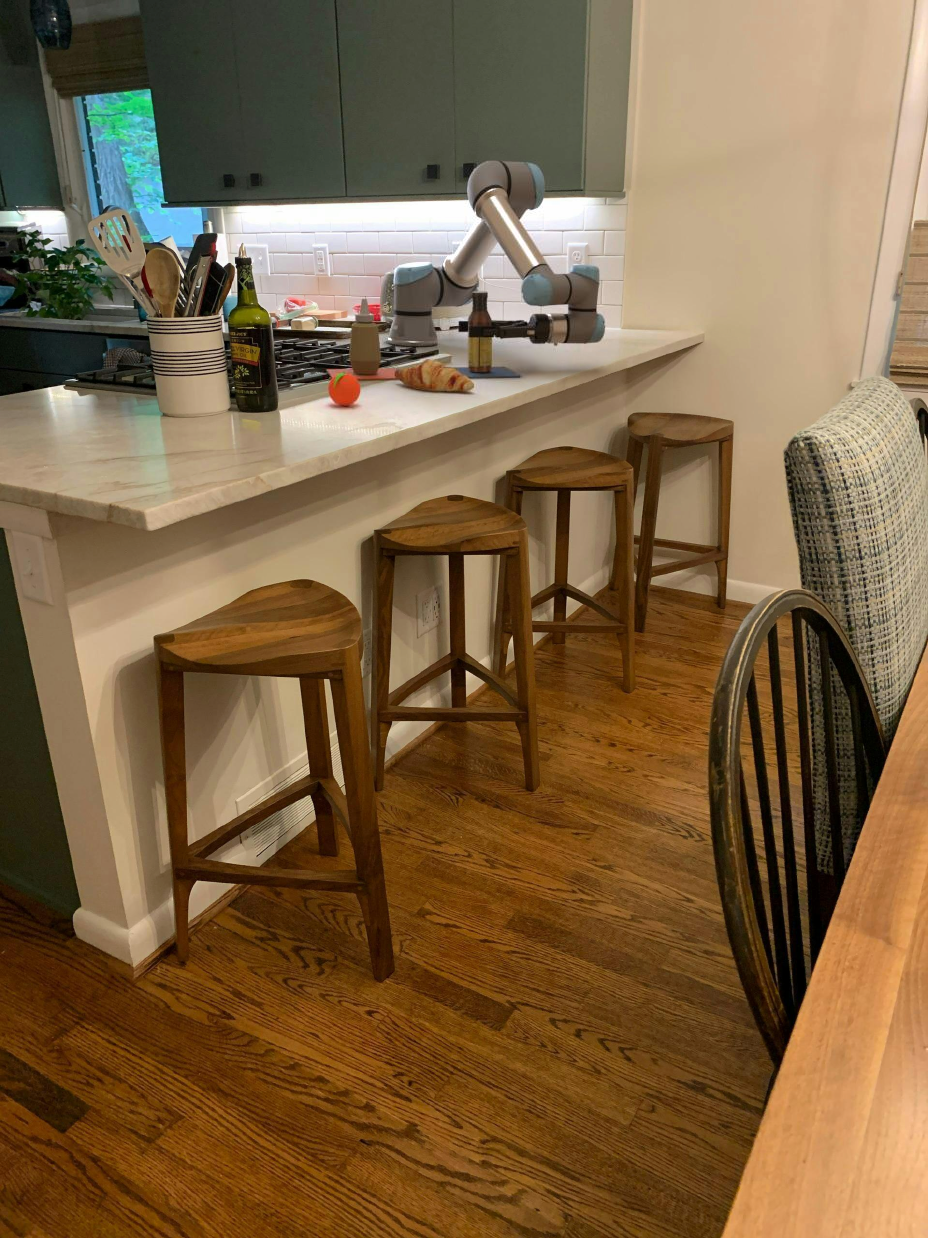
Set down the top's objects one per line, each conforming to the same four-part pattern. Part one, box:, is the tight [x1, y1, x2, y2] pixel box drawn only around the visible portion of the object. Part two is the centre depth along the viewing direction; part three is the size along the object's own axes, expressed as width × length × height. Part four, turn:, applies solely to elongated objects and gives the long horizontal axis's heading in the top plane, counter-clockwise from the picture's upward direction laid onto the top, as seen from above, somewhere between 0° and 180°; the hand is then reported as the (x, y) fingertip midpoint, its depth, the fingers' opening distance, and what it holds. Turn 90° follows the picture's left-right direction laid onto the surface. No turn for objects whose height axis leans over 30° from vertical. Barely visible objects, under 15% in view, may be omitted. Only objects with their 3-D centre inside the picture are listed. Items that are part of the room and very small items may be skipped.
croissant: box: [395, 358, 475, 392], centre depth 221 cm, size 21×10×8 cm, turn 66°
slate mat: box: [455, 366, 521, 379], centre depth 244 cm, size 14×18×1 cm
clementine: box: [327, 372, 362, 407], centre depth 200 cm, size 8×7×7 cm
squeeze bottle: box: [348, 298, 382, 375], centre depth 233 cm, size 8×8×18 cm
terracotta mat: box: [325, 367, 399, 381], centre depth 236 cm, size 14×18×1 cm
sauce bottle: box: [467, 290, 493, 373], centre depth 240 cm, size 6×6×20 cm
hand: (463, 328), depth 238 cm, fingers open, 9 cm apart
